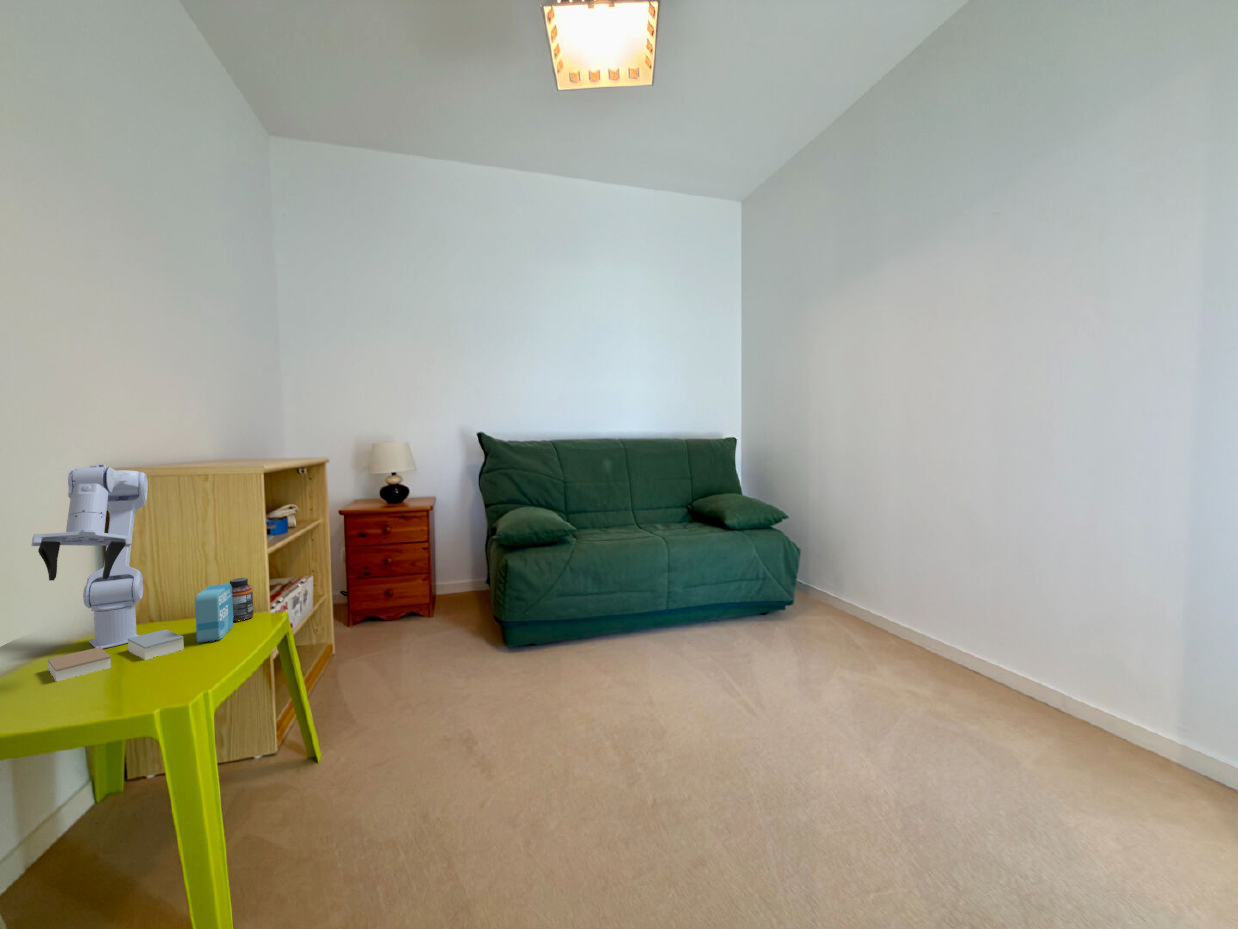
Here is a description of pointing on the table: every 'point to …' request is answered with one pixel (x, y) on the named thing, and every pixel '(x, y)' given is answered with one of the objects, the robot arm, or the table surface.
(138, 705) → the table surface
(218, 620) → the blue box
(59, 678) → the book walnut
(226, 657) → the table surface
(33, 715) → the table surface
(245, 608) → the supplement bottle
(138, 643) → the book grey
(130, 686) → the table surface
